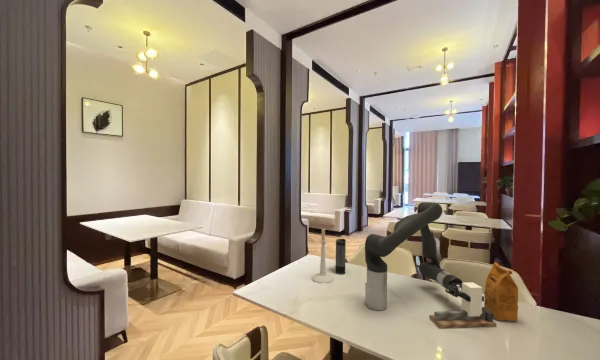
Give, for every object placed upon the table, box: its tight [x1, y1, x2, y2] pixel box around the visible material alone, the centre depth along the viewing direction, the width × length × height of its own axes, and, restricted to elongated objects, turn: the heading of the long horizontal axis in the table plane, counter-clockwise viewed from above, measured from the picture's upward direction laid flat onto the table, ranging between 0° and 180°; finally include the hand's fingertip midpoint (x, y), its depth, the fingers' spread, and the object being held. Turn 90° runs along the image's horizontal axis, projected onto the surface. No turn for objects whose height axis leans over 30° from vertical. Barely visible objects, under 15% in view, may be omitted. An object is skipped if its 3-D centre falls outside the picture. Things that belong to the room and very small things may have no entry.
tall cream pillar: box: [461, 281, 483, 317], centre depth 105 cm, size 5×5×12 cm
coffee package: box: [483, 261, 519, 322], centre depth 111 cm, size 10×12×22 cm
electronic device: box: [335, 238, 347, 275], centre depth 159 cm, size 9×6×20 cm, turn 168°
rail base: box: [429, 306, 497, 329], centre depth 105 cm, size 24×7×5 cm, turn 93°
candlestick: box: [311, 228, 335, 284], centre depth 147 cm, size 13×13×30 cm
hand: (476, 299), depth 102 cm, fingers closed on tall cream pillar, 5 cm apart
